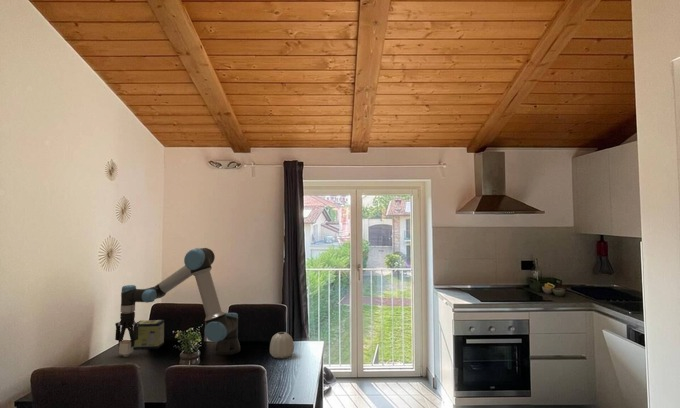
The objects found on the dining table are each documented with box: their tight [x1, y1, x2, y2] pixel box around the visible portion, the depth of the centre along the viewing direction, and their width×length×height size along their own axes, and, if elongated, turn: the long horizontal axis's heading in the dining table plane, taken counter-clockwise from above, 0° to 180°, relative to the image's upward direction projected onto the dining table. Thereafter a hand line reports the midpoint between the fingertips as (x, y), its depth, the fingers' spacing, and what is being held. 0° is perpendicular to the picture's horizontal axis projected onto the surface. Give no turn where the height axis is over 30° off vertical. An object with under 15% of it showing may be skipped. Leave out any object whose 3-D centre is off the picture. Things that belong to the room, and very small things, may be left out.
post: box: [122, 353, 131, 358], centre depth 226 cm, size 3×3×7 cm
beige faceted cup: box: [118, 339, 131, 355], centre depth 226 cm, size 5×5×7 cm
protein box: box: [133, 319, 165, 350], centre depth 245 cm, size 10×16×16 cm
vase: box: [269, 331, 295, 359], centre depth 224 cm, size 14×14×13 cm
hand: (126, 352), depth 226 cm, fingers closed on beige faceted cup, 5 cm apart
